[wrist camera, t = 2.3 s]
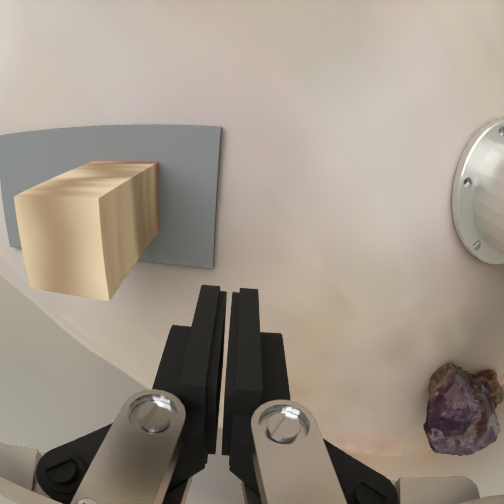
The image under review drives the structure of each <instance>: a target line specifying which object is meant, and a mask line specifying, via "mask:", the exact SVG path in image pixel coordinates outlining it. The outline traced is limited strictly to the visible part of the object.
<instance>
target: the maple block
mask: <svg viewBox="0 0 504 504" xmlns="http://www.w3.org/2000/svg"><path fill="white" fill-rule="evenodd" d="M158 170H159V162H141V161H92V162H90V163H87V164H85V165H82V166H80V167H77V168H75V169H73V170H70V171H68V172H65V173H63V174H61V175H58V176H56V177H54V178H52V179H49V180H47V181H45V182H43V183H41V184H38V185H36V186H34V187H32V188H30V189H28V190H26V191H24V192H22V193H20V194H18V195H16V196H14V202H15V210H16V217H17V224H18V230H19V236H20V241H21V247H22V252H23V257H24V262H25V266H26V271H27V275H28V279H29V283H30V287H31V288H35V289H41V290H46V291H52V292H57V293H63V294H69V295H75V296H81V297H87V298H93V299H100V300H106V301H110V299H111V298H112V297H113V295H114V294H115V292H116V291H117V289H118V288H119V286H120V285H121V283H122V282H123V280H124V279H125V278H126V276H127V275H128V273H129V272H130V270H131V269H132V268H133V266H134V265H135V263H136V262H137V261H138V259H139V258H140V256H141V255H142V254H143V252H144V251H145V250H146V248H147V247H148V245H149V244H150V243H151V241H152V240H153V239H154V237H155V236H156V235H157V233H158V232H159V228H158Z"/></svg>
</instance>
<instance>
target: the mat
mask: <svg viewBox="0 0 504 504" xmlns="http://www.w3.org/2000/svg"><path fill="white" fill-rule="evenodd" d="M220 140H221V127H216V126H195V125H107V126H87V127H72V128H60V129H49V130H39V131H30V132H22V133H15V134H7V135H1V136H0V180H1V190H2V199H3V206H4V213H5V220H6V226H7V232H8V237H9V243H10V247H16V248H22V247H21V241H20V236H19V230H18V224H17V217H16V210H15V202H14V196H16V195H18V194H20V193H22V192H24V191H26V190H28V189H30V188H32V187H34V186H36V185H38V184H41V183H43V182H45V181H47V180H49V179H52V178H54V177H56V176H58V175H61V174H63V173H65V172H68V171H70V170H73V169H75V168H77V167H80V166H82V165H85V164H87V163H90V162H92V161H141V162H159V170H158V228H159V232H158V233H157V235H156V236H155V237H154V239H153V240H152V241H151V243H150V244H149V245H148V247H147V248H146V250H145V251H144V252H143V254H142V255H141V256H140V258H139V259H138V261H141V262H151V263H161V264H171V265H182V266H192V267H203V268H213V262H214V239H215V219H216V201H217V184H218V168H219V154H220Z"/></svg>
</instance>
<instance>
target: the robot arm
mask: <svg viewBox="0 0 504 504" xmlns="http://www.w3.org/2000/svg"><path fill="white" fill-rule="evenodd" d="M452 213H453V219H454V225H455V228H456V231H457V234H458V236H459V238H460V240H461V242H462V243H463V245H464V247H465V248H466V249H467V250H468V251H469V252H470V253H471V254H472V255H474V256H475V257H476V258H477V259H479V260H480V261H482V262H485V263H487V264H495V265H497V264H504V119H499V120H495V121H492V122H490V123H488V124H486V125H485V126H483V127H482V128H481V129H480V130H478V131H477V132H476V134H475V135H474V136H473V137H472V138H471V140H470V141H469V143H468V144H467V146H466V148H465V150H464V151H463V153H462V156H461V158H460V161H459V164H458V166H457V170H456V174H455V178H454V182H453V192H452ZM226 297H227V292H224V291H220V286H209V285H202V286H201V290H200V294H199V298H198V302H197V306H196V310H195V315H194V319H193V323H192V327H188V326H178V325H172V327H171V329H170V332H169V335H168V339H167V342H166V345H165V348H164V351H163V355H162V358H161V361H160V365H159V368H158V371H157V375H156V378H155V381H154V385H153V388H152V390H144V391H141V392H138V393H136V394H134V395H132V396H131V397H129V398H128V399H127V401H126V402H125V403H124V404H123V406H122V408H121V410H120V412H119V413H118V415H117V417H116V419H115V421H114V422H113V423H112V424H109V425H107V426H105V427H103V428H101V429H99V430H97V431H94V432H92V433H90V434H87V435H85V436H83V437H81V438H78V439H76V440H74V441H71V442H69V443H67V444H64V445H62V446H59V447H57V448H55V449H52V450H50V451H48V452H47V453H40V452H39V451H38V450H37V449H33V448H27V447H21V446H15V445H9V444H4V443H0V504H185V501H186V498H187V495H188V491H189V488H190V485H191V482H192V476H193V475H194V474H196V473H197V472H199V471H201V470H202V469H204V468H205V464H206V463H207V458H208V454H215V453H216V440H217V428H218V415H219V403H220V391H221V380H222V368H223V352H224V333H225V314H226ZM222 455H229V465H230V471H231V472H232V473H234V474H235V475H236V476H237V477H238V478H239V479H240V480H242V482H241V485H242V490H243V496H244V502H245V504H504V495H497V496H489V497H483V498H480V496H479V491H478V488H477V485H476V484H475V483H474V482H473V481H472V480H471V479H469V478H467V477H464V476H451V477H431V478H399V479H398V480H397V481H390V480H389V479H387V478H386V477H385V476H383V475H381V474H379V473H378V472H376V471H374V470H373V469H371V468H369V467H368V466H366V465H364V464H363V463H361V462H359V461H358V460H356V459H354V458H352V457H351V456H350V455H348V454H346V453H345V452H343V451H342V450H340V449H338V448H337V447H335V446H334V445H332V444H331V443H329V442H328V441H326V440H325V439H323V438H322V435H321V433H320V430H319V427H318V425H317V422H316V419H315V418H314V416H313V414H312V413H311V412H310V411H309V410H308V409H307V408H306V407H305V406H303V405H301V404H299V403H297V402H293V401H291V400H290V392H289V384H288V376H287V368H286V361H285V353H284V345H283V338H282V334H281V333H265V332H260V319H259V297H258V289H248V288H240V293H237V292H232V304H231V316H230V329H229V341H228V354H227V367H226V381H225V397H224V417H223V437H222Z"/></svg>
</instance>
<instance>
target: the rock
mask: <svg viewBox="0 0 504 504" xmlns="http://www.w3.org/2000/svg"><path fill="white" fill-rule="evenodd" d="M496 377H497V374H496V372H495V370H491V369H488V370H483V371H481V372H479V373H478V374H477V375H471V374H470V373H467V371H462V369H461V367H457V366H456V365H454V364H448V365H445V366H444V367H441V368H440V369H439V370H438V371H437V372H436V373H434V374H433V375H432V377H431V378H430V379H431V381H430V386H429V391H428V392H429V393H430V395H429V401H428V406H427V418H426V422H425V423H424V425H423V426H424V430H425V433H426V435H427V438H428V441H429V444H430V447H431V448H432V450H433V451H434V452H435V453H442V454H452V455H459V456H462V455H469V454H473V453H475V452H476V451H478V450H481V449H483V448H485V447H487V446H488V445H489V444H491V443H493V442H495V441H496V439H497V435H498V434H499V433H500V425H499V423H498V422H497V416H496V413H495V408H496V407H497V405H498V404H499V403H501V402H502V401H503V396H504V393H503V390H502V388H501V386H500V384H499V382H498V381H497V378H496Z"/></svg>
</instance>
